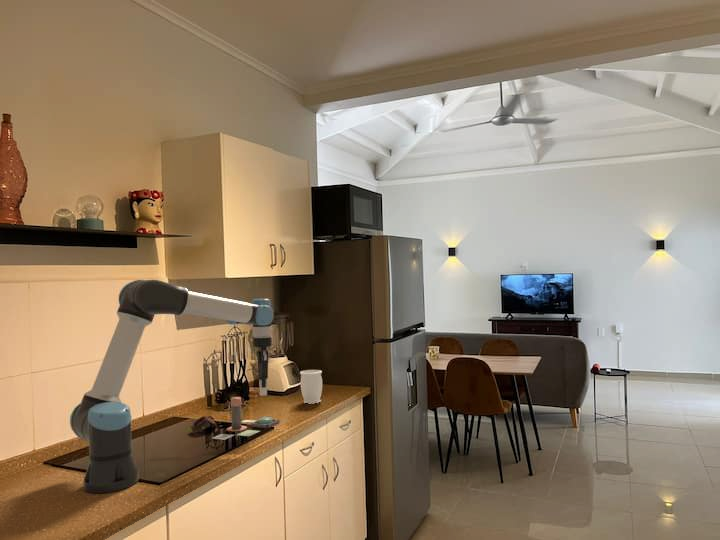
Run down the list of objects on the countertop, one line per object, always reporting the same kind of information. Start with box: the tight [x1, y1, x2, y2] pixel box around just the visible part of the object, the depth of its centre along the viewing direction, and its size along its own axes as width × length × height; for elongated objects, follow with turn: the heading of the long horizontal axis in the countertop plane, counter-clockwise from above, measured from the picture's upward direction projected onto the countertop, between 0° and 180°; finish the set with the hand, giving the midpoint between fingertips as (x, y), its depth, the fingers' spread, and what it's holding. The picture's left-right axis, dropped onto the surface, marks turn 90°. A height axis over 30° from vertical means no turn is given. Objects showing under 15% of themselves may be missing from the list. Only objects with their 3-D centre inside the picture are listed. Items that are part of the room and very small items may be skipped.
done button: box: [256, 416, 274, 424], centre depth 216 cm, size 6×6×2 cm
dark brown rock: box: [190, 415, 219, 435], centre depth 211 cm, size 12×10×8 cm
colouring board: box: [211, 418, 280, 441], centre depth 209 cm, size 29×18×3 cm, turn 156°
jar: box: [299, 369, 323, 405], centre depth 258 cm, size 11×10×15 cm
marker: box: [230, 396, 243, 430], centre depth 212 cm, size 4×4×12 cm
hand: (263, 395), depth 216 cm, fingers closed
